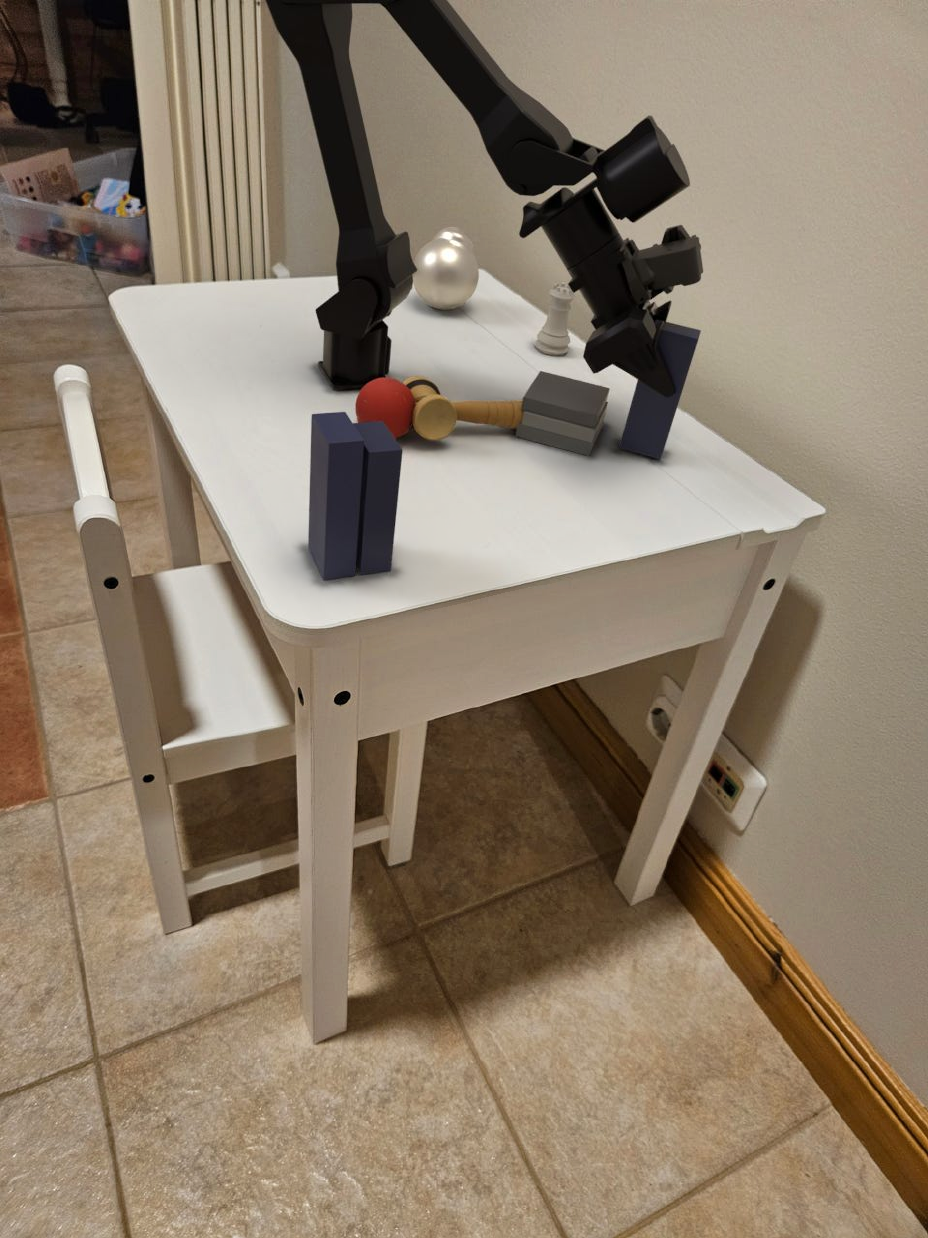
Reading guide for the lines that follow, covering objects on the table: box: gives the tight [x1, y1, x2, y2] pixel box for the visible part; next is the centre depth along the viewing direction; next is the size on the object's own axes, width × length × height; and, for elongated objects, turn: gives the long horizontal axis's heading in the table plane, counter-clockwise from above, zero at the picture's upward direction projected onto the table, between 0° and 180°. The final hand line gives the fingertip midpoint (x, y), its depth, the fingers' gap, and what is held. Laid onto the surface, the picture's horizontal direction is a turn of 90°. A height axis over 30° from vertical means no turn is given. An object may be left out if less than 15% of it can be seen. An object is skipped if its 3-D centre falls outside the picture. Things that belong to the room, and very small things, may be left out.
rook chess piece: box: [534, 282, 576, 357], centre depth 110 cm, size 4×4×8 cm
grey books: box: [515, 370, 611, 457], centre depth 93 cm, size 8×8×4 cm
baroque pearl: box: [412, 226, 480, 311], centre depth 116 cm, size 9×10×10 cm
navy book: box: [618, 319, 702, 460], centre depth 89 cm, size 3×4×13 cm, turn 73°
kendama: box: [354, 375, 524, 441], centre depth 89 cm, size 8×6×18 cm
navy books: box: [307, 411, 404, 581], centre depth 68 cm, size 6×4×12 cm
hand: (673, 389), depth 89 cm, fingers closed on navy book, 3 cm apart
